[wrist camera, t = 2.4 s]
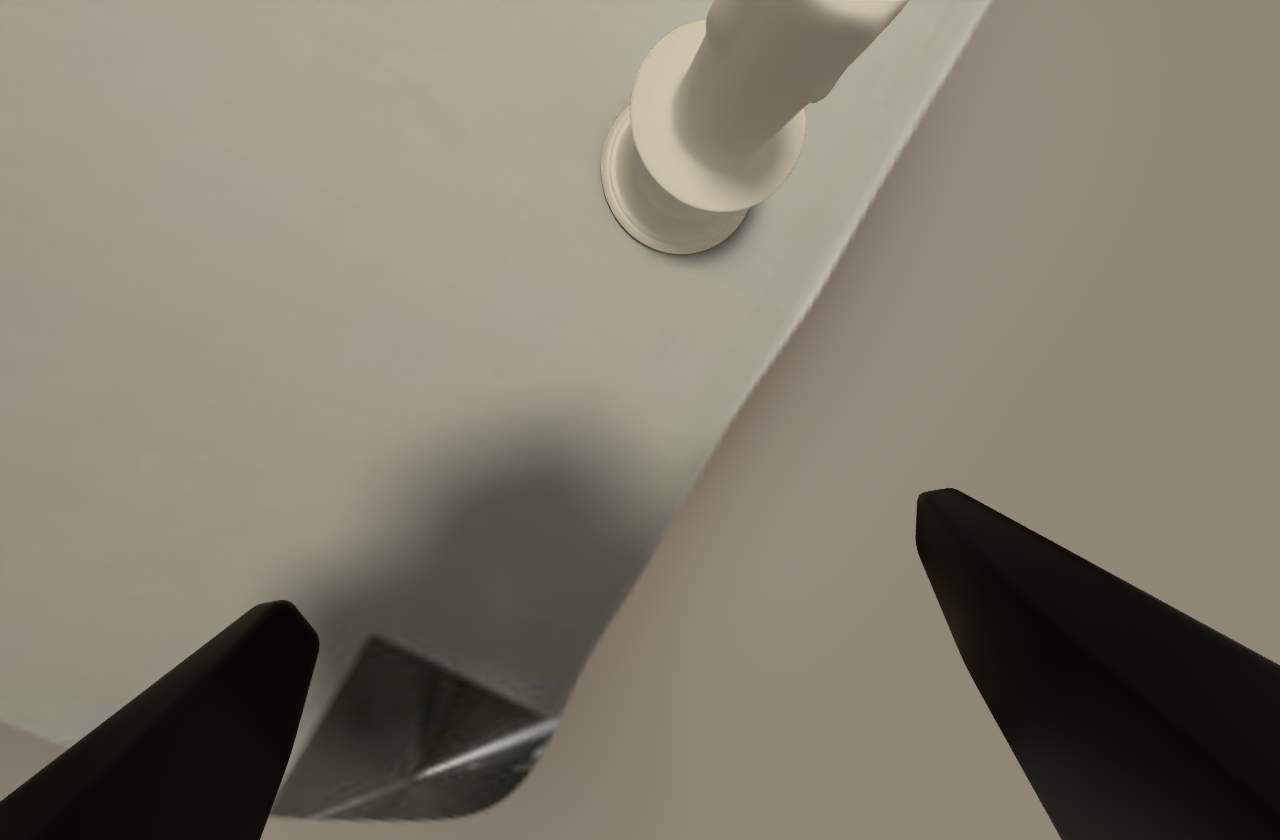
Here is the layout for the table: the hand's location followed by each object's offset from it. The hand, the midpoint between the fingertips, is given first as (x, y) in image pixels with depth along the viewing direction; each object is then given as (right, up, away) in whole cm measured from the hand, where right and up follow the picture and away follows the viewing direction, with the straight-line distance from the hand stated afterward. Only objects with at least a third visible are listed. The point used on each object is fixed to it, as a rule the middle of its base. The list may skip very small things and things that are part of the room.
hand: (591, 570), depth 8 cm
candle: (+2, +11, +11) cm, 16 cm away
